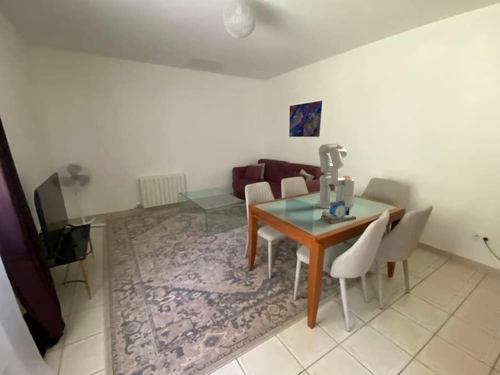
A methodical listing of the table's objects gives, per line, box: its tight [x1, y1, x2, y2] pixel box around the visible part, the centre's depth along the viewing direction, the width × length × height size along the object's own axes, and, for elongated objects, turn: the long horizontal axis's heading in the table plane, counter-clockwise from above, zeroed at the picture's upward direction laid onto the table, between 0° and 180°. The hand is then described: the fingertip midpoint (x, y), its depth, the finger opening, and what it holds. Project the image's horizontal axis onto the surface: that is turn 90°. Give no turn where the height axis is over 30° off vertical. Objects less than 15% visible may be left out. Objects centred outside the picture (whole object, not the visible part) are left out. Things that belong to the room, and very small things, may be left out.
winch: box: [320, 210, 337, 225], centre depth 179 cm, size 16×5×8 cm, turn 21°
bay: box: [335, 215, 357, 224], centre depth 185 cm, size 13×22×2 cm, turn 112°
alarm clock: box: [328, 201, 346, 220], centre depth 183 cm, size 13×6×15 cm, turn 113°
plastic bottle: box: [335, 175, 355, 202], centre depth 222 cm, size 15×15×28 cm
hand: (346, 214), depth 187 cm, fingers closed
